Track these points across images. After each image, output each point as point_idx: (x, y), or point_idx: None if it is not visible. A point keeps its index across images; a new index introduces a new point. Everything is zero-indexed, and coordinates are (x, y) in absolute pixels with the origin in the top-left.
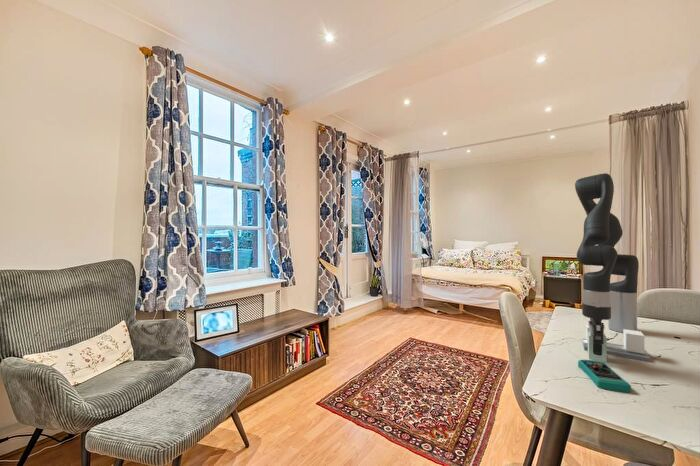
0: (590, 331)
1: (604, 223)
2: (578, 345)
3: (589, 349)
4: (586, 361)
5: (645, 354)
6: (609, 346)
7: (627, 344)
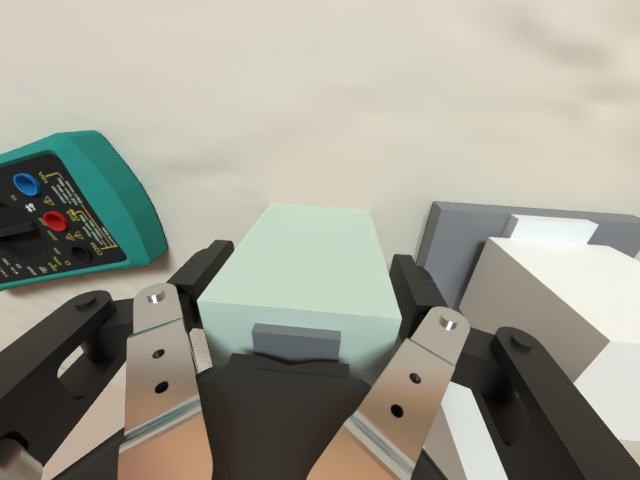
0: (167, 359)
1: None
2: (528, 177)
3: (250, 230)
4: (110, 181)
5: None
6: None
7: (440, 411)
